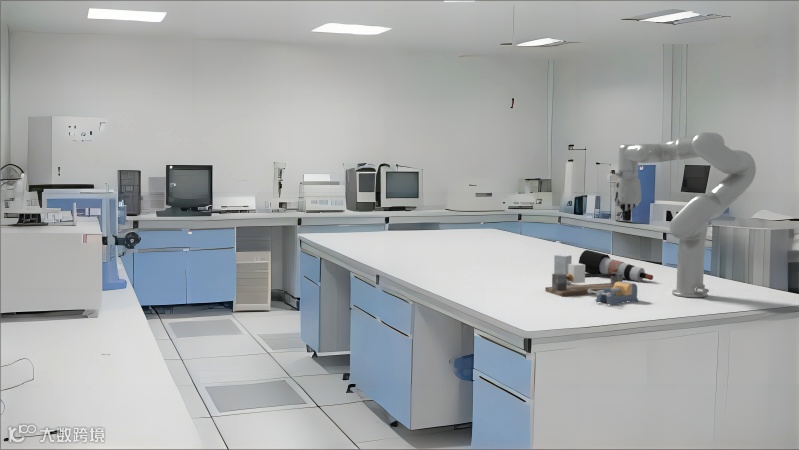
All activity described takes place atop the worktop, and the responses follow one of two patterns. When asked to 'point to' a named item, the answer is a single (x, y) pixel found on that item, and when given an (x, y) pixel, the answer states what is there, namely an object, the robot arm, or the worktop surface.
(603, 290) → the vise
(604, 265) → the cable
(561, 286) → the cord rack
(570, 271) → the sleeve
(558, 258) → the skincare box
